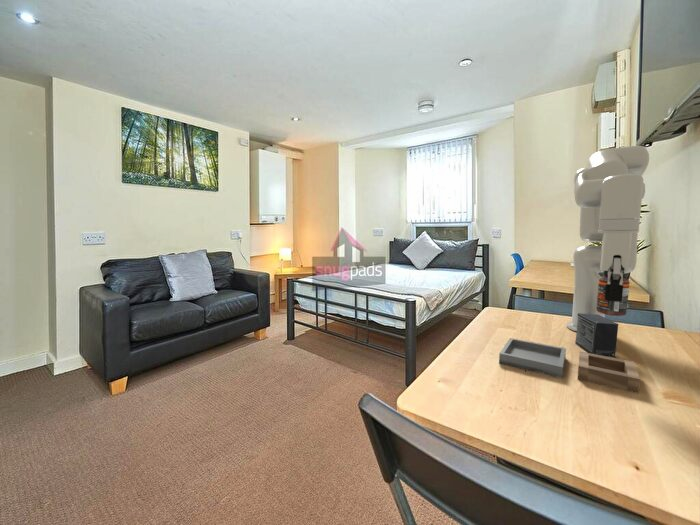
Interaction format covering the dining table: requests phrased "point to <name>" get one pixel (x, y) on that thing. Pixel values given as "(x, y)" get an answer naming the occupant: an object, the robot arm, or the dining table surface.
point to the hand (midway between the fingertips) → (612, 297)
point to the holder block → (608, 371)
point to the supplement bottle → (612, 306)
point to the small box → (597, 334)
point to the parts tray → (533, 357)
